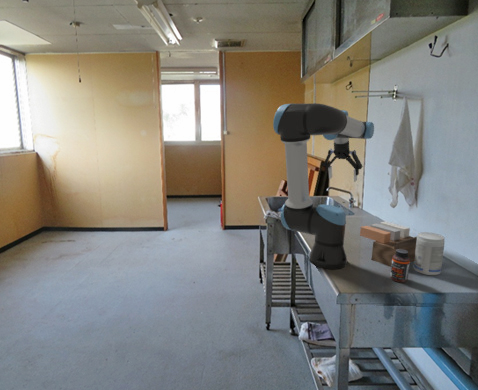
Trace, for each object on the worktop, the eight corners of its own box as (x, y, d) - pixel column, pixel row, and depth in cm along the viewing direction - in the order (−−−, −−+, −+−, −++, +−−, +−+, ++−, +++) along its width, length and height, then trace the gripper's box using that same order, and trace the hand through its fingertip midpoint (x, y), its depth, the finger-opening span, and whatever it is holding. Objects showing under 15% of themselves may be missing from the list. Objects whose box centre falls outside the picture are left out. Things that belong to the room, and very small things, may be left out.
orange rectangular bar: (359, 235, 153) (360, 226, 152) (365, 234, 155) (366, 225, 154) (383, 243, 143) (384, 234, 142) (389, 241, 145) (390, 232, 144)
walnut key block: (371, 259, 147) (373, 236, 145) (400, 250, 159) (402, 228, 156) (393, 268, 139) (396, 243, 137) (422, 258, 150) (425, 235, 148)
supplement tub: (440, 269, 139) (445, 234, 136) (440, 278, 130) (446, 241, 127) (413, 264, 143) (417, 230, 140) (412, 272, 135) (417, 236, 132)
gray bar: (369, 233, 157) (370, 224, 156) (375, 231, 159) (376, 223, 158) (394, 240, 147) (395, 231, 146) (399, 239, 149) (400, 230, 148)
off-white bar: (379, 230, 160) (380, 222, 160) (384, 229, 163) (385, 221, 162) (403, 238, 151) (404, 229, 150) (408, 236, 153) (409, 228, 152)
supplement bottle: (388, 280, 128) (391, 251, 125) (391, 274, 133) (394, 246, 130) (406, 284, 125) (410, 255, 122) (408, 278, 130) (411, 250, 127)
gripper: (368, 139, 170) (368, 178, 180) (321, 137, 185) (323, 173, 194) (363, 145, 165) (364, 184, 175) (315, 142, 179) (318, 179, 189)
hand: (342, 179), depth 184 cm, fingers open, 13 cm apart
